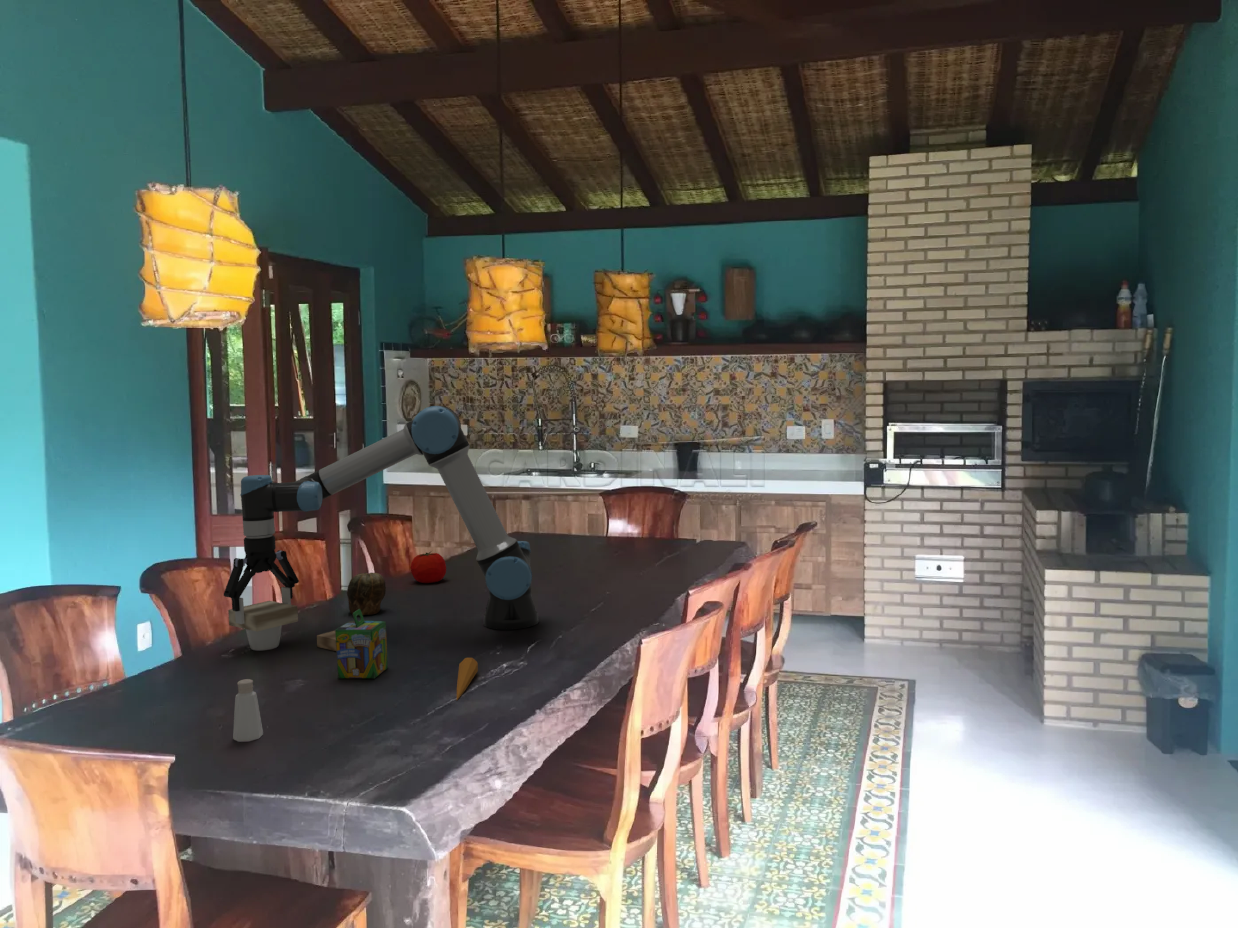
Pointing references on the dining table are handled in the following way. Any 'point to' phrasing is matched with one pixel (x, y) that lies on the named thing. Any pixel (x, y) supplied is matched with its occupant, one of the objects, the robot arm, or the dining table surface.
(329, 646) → the trivet
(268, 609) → the cover board
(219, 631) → the dining table surface
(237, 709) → the salt shaker
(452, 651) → the dining table surface
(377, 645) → the chalk box
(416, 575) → the tomato
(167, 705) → the dining table surface
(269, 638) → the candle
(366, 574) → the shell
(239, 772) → the dining table surface
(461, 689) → the carrot
